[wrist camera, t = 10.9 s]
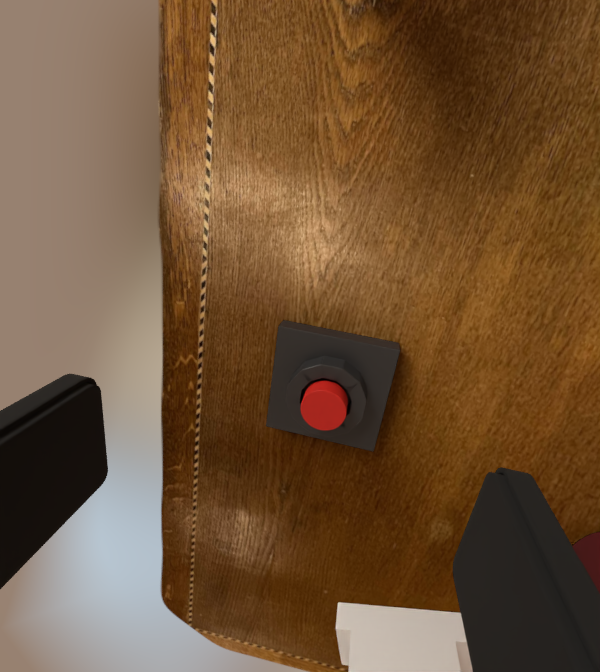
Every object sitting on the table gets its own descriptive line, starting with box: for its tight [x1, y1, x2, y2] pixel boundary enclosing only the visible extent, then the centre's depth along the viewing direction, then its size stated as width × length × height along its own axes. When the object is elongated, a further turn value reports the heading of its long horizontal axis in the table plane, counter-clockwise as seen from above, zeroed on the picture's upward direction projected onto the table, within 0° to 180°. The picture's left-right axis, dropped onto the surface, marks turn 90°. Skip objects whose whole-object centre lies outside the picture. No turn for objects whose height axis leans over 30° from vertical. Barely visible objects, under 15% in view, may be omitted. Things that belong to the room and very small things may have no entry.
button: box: [301, 380, 348, 430], centre depth 29 cm, size 4×4×2 cm
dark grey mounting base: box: [266, 320, 400, 451], centre depth 31 cm, size 10×10×4 cm
